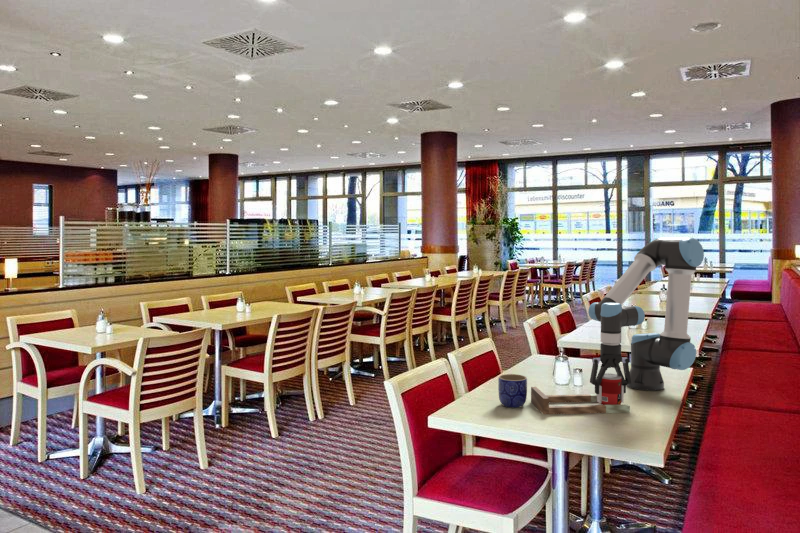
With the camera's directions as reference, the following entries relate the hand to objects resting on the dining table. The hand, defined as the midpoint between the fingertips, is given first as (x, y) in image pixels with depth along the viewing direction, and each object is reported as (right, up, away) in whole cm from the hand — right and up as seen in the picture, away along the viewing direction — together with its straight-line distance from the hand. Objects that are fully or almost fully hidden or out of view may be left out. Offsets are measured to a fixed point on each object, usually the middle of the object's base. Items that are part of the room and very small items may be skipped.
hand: (610, 401), depth 233 cm
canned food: (0, -1, 0) cm, 1 cm away
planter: (-37, -2, +2) cm, 37 cm away
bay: (-12, -2, -1) cm, 12 cm away
